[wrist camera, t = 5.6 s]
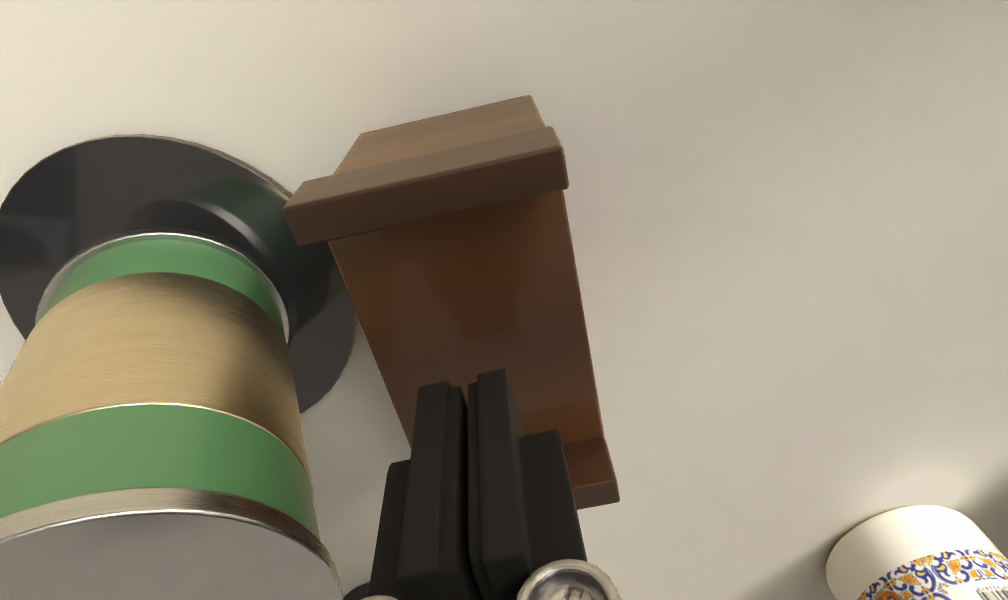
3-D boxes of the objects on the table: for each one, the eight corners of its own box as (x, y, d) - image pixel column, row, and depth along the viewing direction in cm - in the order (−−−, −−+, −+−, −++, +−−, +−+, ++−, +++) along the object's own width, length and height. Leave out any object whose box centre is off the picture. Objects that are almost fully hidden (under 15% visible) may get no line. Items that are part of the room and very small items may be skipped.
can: (100, 208, 18) (-572, 611, 9) (442, 168, 14) (-64, 818, 5) (204, 363, 22) (-182, 770, 12) (500, 365, 18) (283, 961, 8)
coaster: (-87, 180, 17) (-96, 184, 16) (278, 94, 16) (275, 96, 16) (120, 453, 22) (115, 458, 22) (398, 397, 21) (397, 402, 21)
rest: (353, 116, 16) (279, 208, 10) (527, 75, 16) (563, 145, 10) (438, 366, 21) (423, 538, 14) (575, 339, 20) (620, 502, 14)
